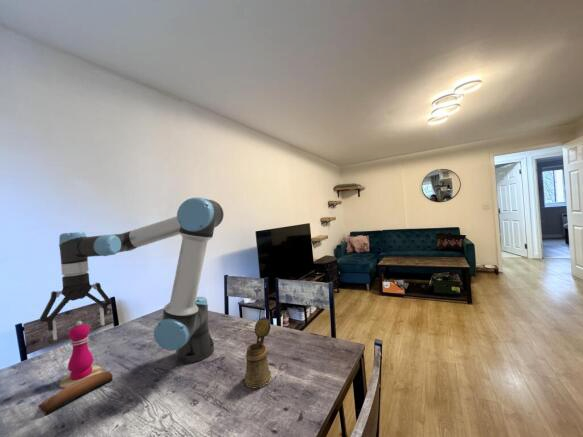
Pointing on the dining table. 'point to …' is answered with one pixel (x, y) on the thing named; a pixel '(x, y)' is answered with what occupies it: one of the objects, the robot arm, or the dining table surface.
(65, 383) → the coaster
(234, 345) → the dining table surface
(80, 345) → the pepper mill
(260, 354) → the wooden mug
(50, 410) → the sunglasses case
